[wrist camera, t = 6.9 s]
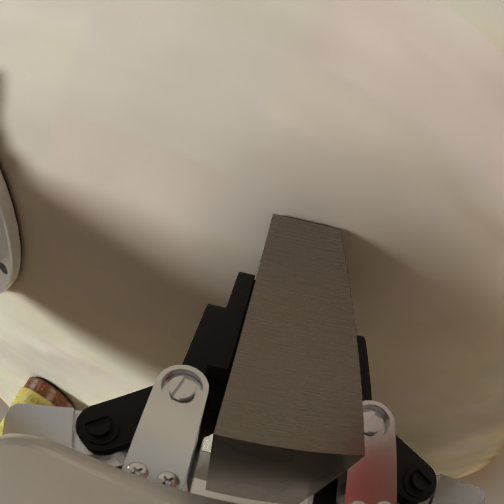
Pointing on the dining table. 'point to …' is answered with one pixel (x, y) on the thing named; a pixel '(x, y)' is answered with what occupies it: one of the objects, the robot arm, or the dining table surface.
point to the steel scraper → (292, 374)
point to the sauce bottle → (39, 396)
